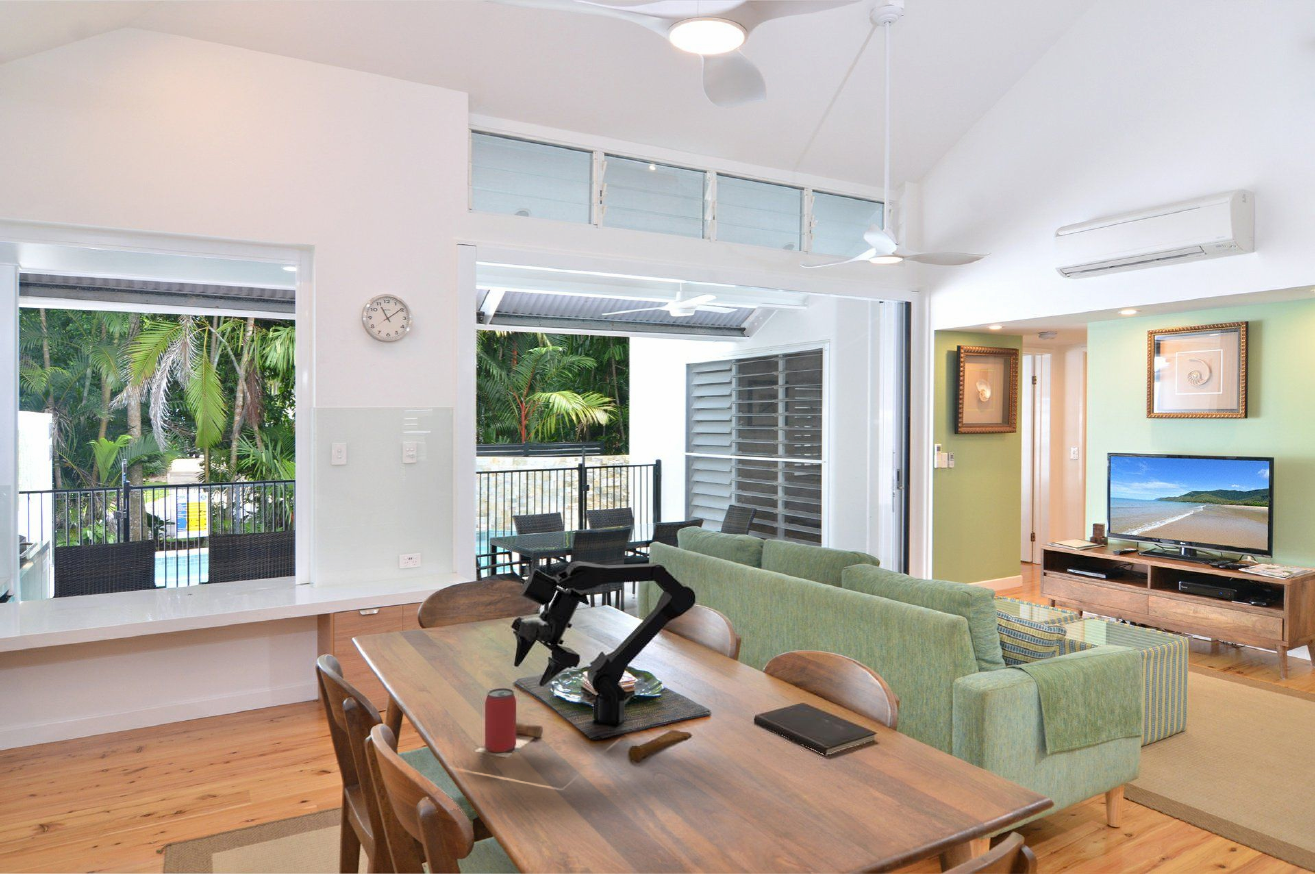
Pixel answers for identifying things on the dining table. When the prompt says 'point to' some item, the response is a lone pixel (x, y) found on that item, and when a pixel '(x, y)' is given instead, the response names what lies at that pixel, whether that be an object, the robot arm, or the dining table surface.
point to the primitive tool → (657, 744)
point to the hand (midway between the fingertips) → (528, 676)
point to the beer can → (500, 720)
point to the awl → (529, 729)
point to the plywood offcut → (520, 742)
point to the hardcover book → (814, 728)
